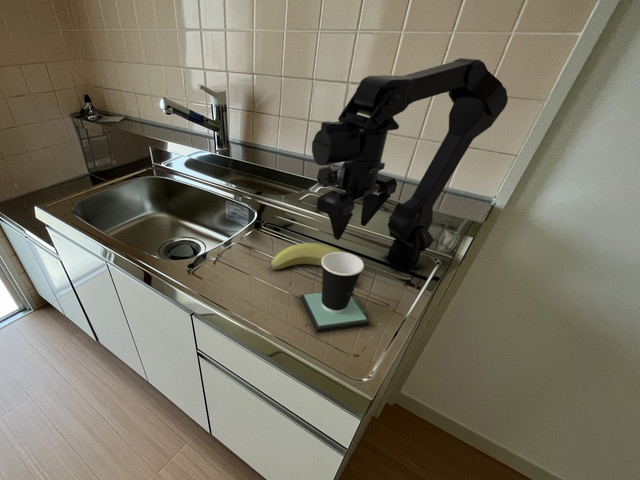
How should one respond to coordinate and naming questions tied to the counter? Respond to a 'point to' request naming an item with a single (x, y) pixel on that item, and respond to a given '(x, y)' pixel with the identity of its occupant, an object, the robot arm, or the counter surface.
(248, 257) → the counter surface
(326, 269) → the dixie cup
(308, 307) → the scale
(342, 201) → the robot arm
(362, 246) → the counter surface
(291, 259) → the banana
